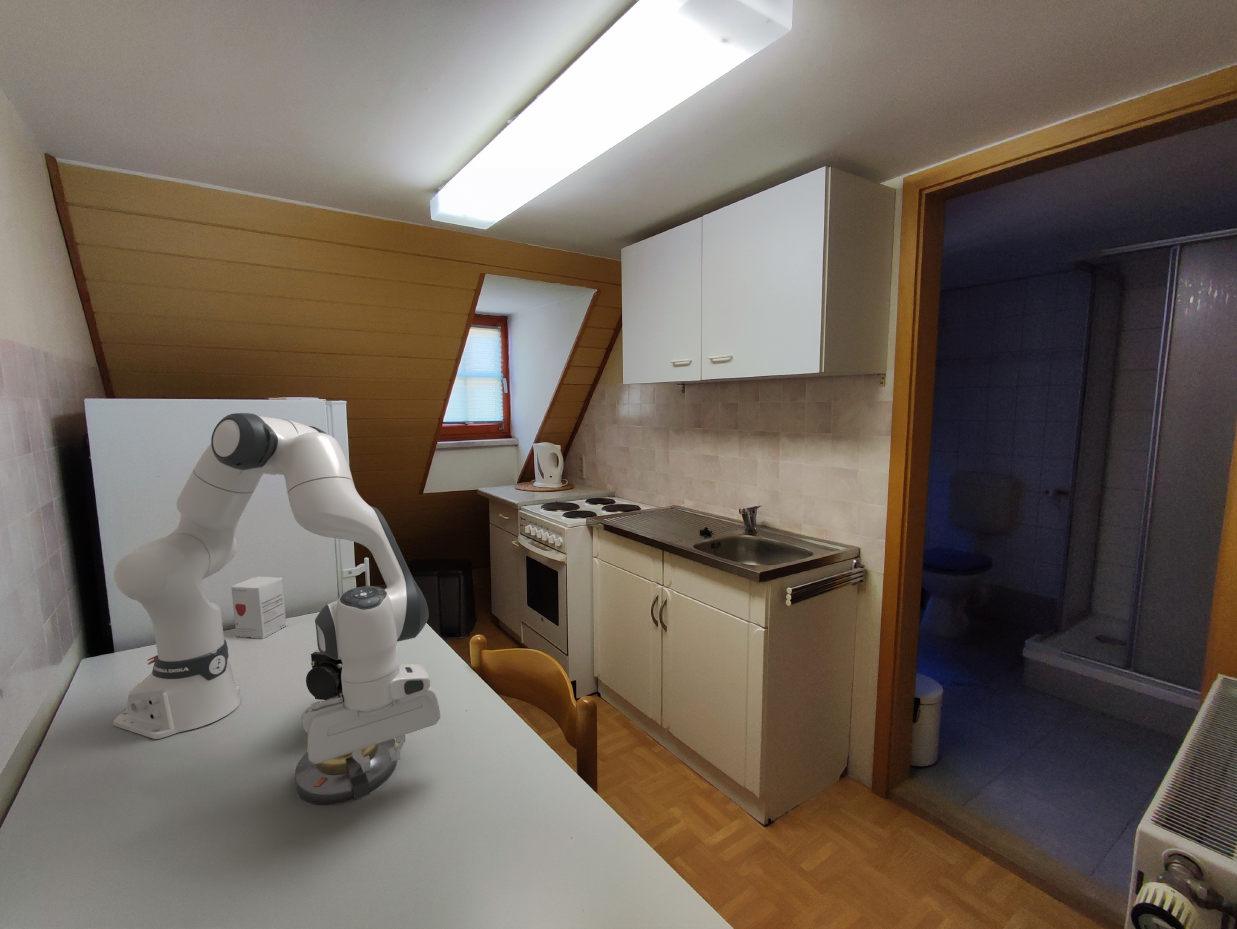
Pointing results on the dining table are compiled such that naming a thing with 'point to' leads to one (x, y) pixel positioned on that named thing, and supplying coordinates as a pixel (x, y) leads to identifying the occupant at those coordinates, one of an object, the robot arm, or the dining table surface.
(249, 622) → the supplement box
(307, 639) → the dining table surface
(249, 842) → the dining table surface
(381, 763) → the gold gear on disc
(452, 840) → the dining table surface
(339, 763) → the lever handle valve
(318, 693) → the ball valve
